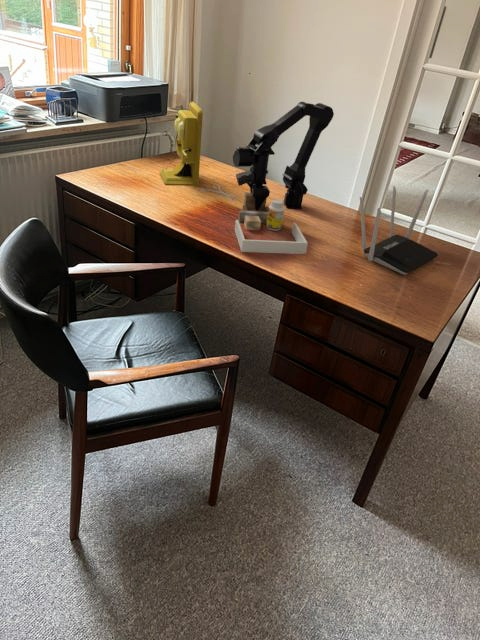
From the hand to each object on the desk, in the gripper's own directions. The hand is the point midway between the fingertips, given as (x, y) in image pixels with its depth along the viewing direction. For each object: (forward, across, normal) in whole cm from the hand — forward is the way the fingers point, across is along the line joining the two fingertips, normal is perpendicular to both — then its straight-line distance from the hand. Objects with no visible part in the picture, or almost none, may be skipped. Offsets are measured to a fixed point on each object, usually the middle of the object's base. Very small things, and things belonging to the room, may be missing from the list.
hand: (254, 205), depth 187 cm
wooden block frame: (+1, +6, 0) cm, 6 cm away
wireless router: (+1, +37, +42) cm, 56 cm away
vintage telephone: (+1, -31, -29) cm, 42 cm away
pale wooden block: (+1, +18, -4) cm, 19 cm away
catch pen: (+1, +30, 0) cm, 30 cm away
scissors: (+2, -15, -11) cm, 19 cm away
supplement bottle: (+1, +18, +4) cm, 19 cm away
